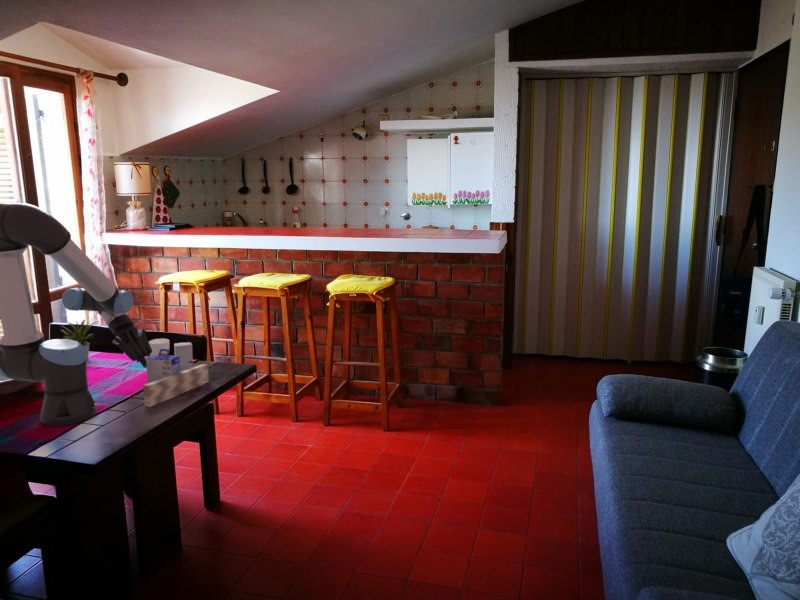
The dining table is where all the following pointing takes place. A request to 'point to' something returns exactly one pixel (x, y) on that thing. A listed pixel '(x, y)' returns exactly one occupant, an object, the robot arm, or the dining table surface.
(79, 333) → the house plant
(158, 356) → the ink cartridge box
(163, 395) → the board
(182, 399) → the dining table surface
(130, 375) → the dining table surface
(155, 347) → the cup
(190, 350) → the skincare box
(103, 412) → the dining table surface
